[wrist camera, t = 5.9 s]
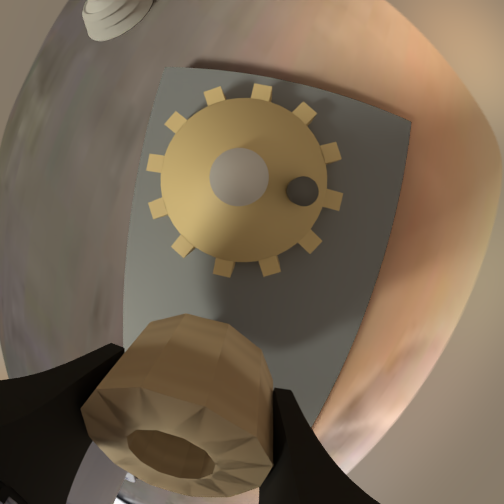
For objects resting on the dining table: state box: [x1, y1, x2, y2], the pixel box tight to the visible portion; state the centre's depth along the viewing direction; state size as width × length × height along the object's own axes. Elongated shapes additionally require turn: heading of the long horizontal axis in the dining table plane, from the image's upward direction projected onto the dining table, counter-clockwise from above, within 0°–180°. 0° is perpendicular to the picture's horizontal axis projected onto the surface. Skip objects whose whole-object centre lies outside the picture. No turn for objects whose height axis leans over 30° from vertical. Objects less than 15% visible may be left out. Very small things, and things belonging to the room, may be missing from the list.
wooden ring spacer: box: [81, 313, 273, 497], centre depth 8 cm, size 6×6×4 cm
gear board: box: [123, 67, 411, 427], centre depth 12 cm, size 12×26×6 cm, turn 168°
